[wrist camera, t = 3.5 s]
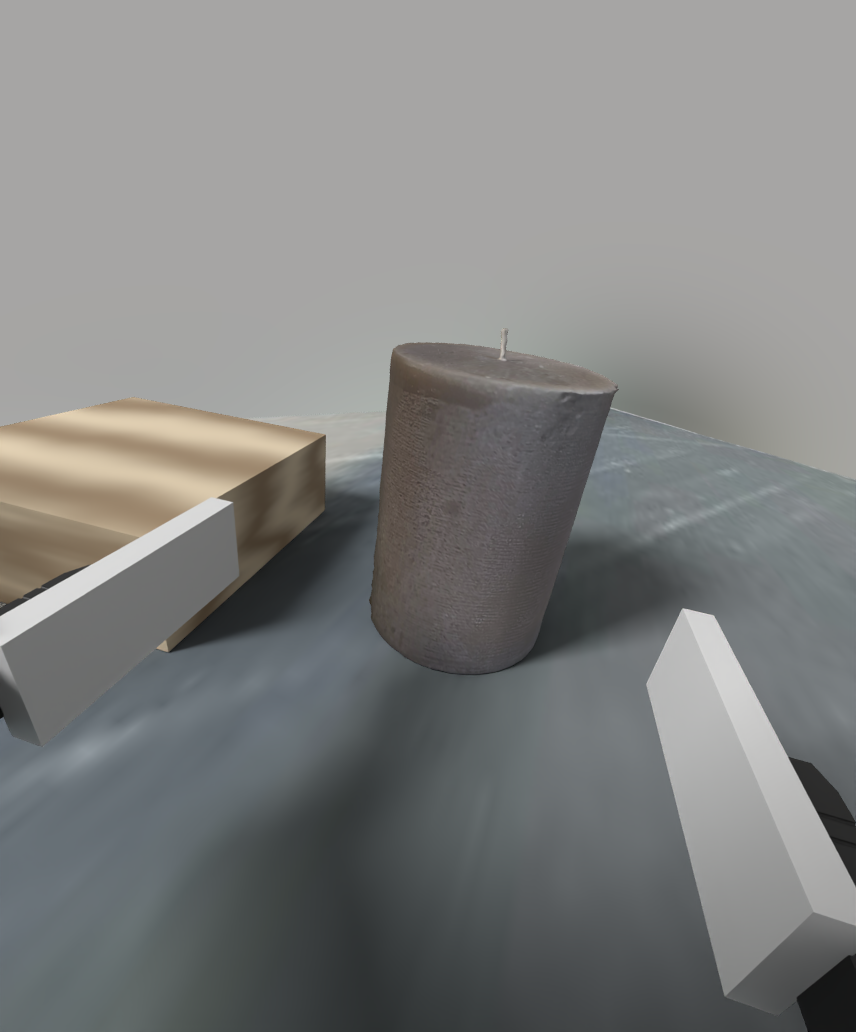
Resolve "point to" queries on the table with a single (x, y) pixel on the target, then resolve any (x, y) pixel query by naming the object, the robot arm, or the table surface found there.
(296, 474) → the oak block
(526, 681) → the table surface
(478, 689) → the table surface
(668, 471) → the table surface
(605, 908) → the table surface
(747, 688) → the robot arm
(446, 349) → the pillar candle
